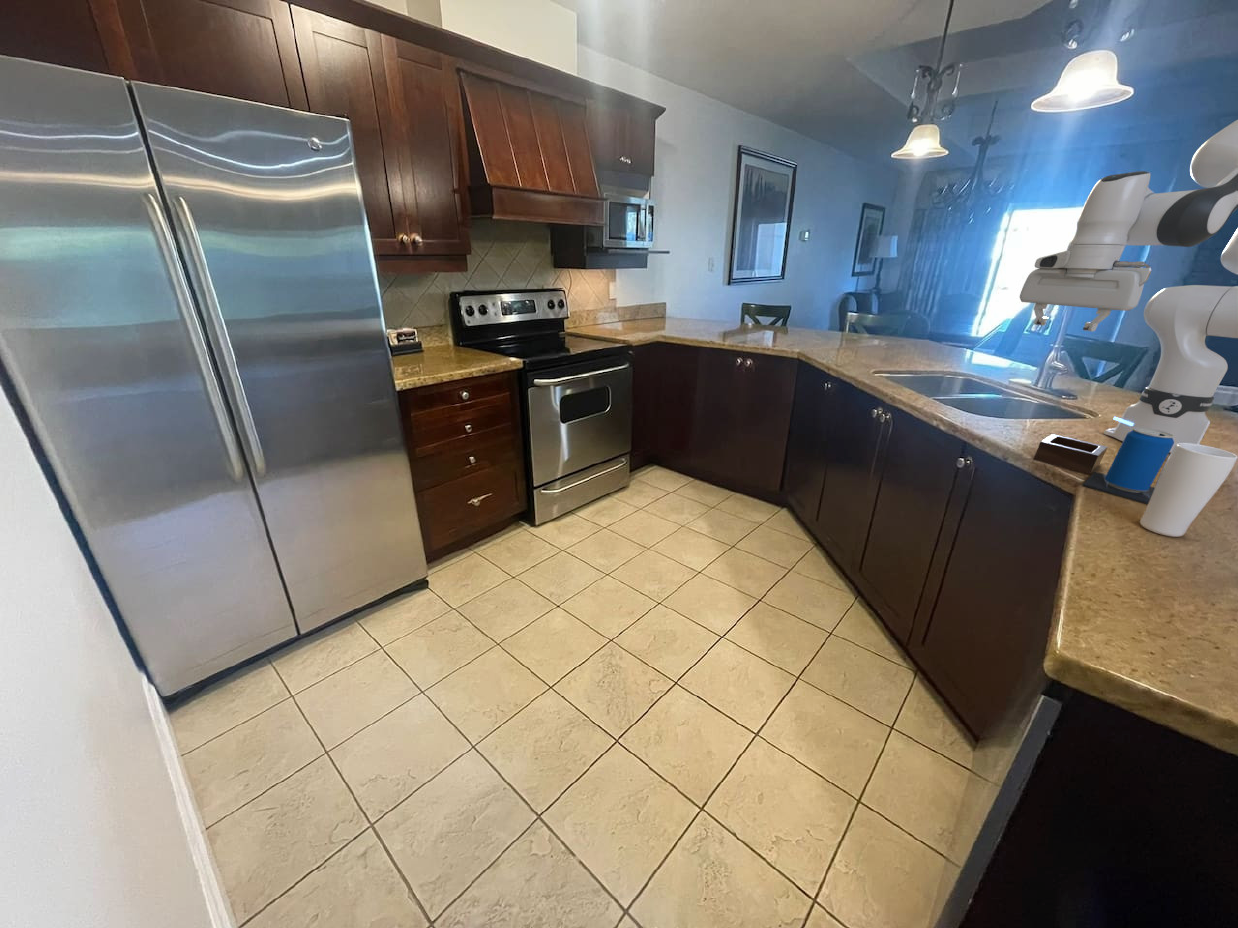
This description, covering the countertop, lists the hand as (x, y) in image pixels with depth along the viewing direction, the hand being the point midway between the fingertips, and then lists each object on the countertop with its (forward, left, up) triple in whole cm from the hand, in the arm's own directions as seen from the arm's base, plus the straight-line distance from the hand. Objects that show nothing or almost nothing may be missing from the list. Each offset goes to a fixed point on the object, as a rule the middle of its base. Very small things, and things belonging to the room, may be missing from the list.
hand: (1062, 327), depth 105 cm
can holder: (0, +10, -29) cm, 31 cm away
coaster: (+9, +21, -29) cm, 37 cm away
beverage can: (+9, +21, -29) cm, 37 cm away
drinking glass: (+27, +28, -29) cm, 49 cm away
